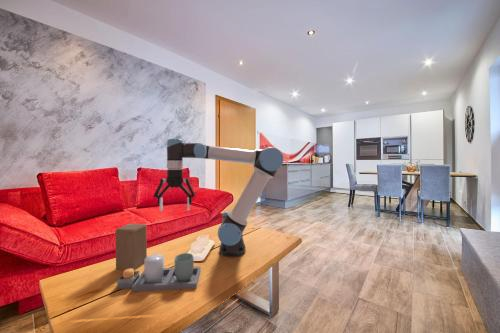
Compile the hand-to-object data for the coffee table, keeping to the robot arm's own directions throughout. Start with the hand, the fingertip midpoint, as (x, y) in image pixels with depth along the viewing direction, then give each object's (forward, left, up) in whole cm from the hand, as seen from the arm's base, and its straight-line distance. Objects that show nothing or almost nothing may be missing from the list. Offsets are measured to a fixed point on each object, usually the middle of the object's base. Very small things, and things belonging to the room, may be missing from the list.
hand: (174, 210), depth 109 cm
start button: (+14, +20, -24) cm, 34 cm away
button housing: (+14, +20, -27) cm, 36 cm away
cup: (-8, +18, -26) cm, 33 cm away
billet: (+4, +18, -26) cm, 32 cm away
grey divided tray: (-2, +18, -27) cm, 32 cm away
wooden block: (+20, +3, -27) cm, 34 cm away
